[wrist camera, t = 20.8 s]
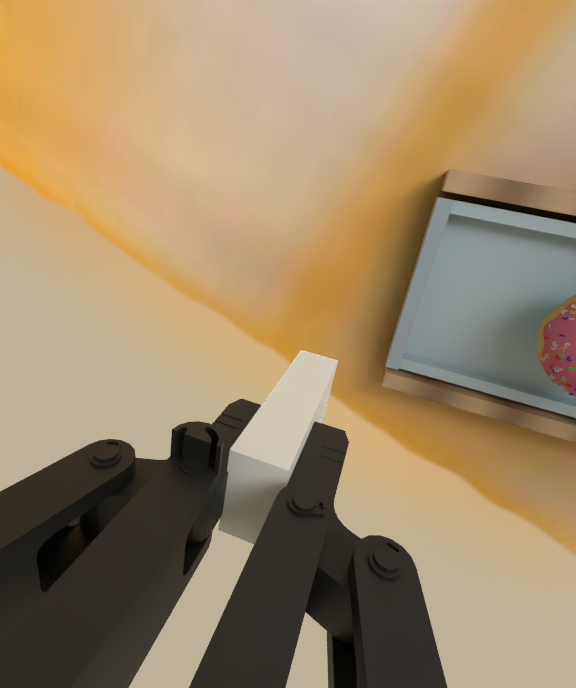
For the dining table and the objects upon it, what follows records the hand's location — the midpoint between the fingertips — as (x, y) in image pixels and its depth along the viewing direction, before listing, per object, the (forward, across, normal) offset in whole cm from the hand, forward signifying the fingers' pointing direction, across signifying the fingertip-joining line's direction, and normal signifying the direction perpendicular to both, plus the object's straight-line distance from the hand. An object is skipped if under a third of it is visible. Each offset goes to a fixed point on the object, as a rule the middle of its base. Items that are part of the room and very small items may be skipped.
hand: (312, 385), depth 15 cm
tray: (+24, +14, 0) cm, 28 cm away
